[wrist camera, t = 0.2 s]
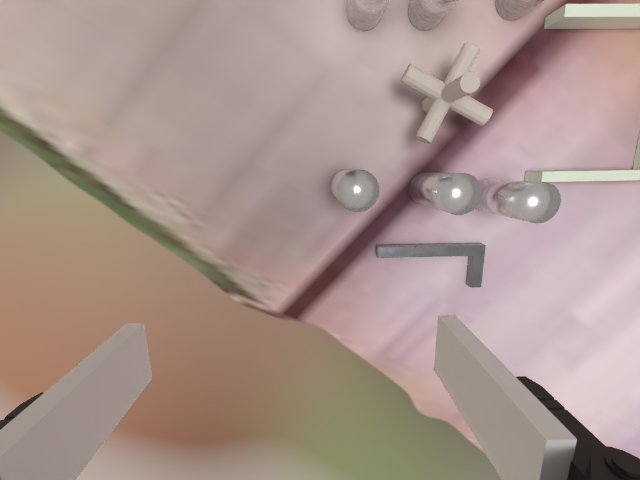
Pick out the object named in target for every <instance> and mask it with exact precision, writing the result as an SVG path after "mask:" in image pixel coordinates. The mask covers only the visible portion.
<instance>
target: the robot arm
mask: <svg viewBox="0 0 640 480" xmlns="http://www.w3.org/2000/svg"><path fill="white" fill-rule="evenodd" d="M434 370H435V372H436V374H437V375H438V377H439V378H440V380H441V382H442V383H443V385H444V387H445V388H446V390H447V391H448V393H449V395H450V396H451V398H452V400H453V401H454V403H455V404H456V406H457V408H458V409H459V411H460V412H461V414H462V416H463V417H464V419H465V421H466V422H467V424H468V425H469V427H470V429H471V430H472V432H473V434H474V435H475V437H476V438H477V440H478V442H479V443H480V445H481V447H482V448H483V450H484V451H485V453H486V455H487V456H488V458H489V460H490V461H491V463H492V464H493V466H494V468H495V469H496V471H497V473H498V474H499V476H500V477H501V479H502V480H640V459H639V458H637V457H635V456H633V455H631V454H629V453H627V452H625V451H623V450H619V449H616V448H613V447H606V446H605V445H604V444H602V443H601V442H600V441H599V440H598V439H597V438H596V437H595V436H594V435H593V434H592V433H591V432H590V431H589V430H588V429H587V428H585V427H584V426H583V425H582V424H581V423H580V422H579V421H578V420H577V419H576V418H575V417H574V416H573V415H572V414H571V413H569V412H568V411H567V410H565V409H564V407H563V406H562V405H561V404H560V403H559V402H558V401H557V400H554V397H552V396H551V395H550V394H549V393H548V392H547V391H546V390H545V389H544V388H543V387H542V386H540V385H539V384H537V383H535V382H534V381H532V380H530V379H529V378H527V377H515V376H514V375H513V374H512V373H511V372H510V371H509V370H508V369H507V368H506V367H505V366H504V365H503V364H502V362H501V361H500V360H499V359H498V358H497V357H496V356H495V355H494V354H493V353H492V352H491V351H490V350H489V349H488V348H487V347H486V346H485V345H484V344H483V343H482V342H481V341H480V340H479V339H478V338H477V337H476V336H475V335H474V334H473V333H472V332H471V331H470V330H469V329H468V328H467V327H466V326H465V325H464V324H463V323H462V322H461V321H460V320H459V319H458V318H457V317H456V316H455V315H447V316H438V325H437V337H436V350H435V363H434ZM151 379H152V373H151V367H150V360H149V353H148V347H147V340H146V333H145V327H144V323H136V324H125V325H124V326H123V327H122V328H121V329H119V330H118V331H117V332H116V333H115V334H114V335H112V336H111V337H110V338H109V339H108V340H106V341H105V342H104V343H103V344H102V345H101V346H99V347H98V348H97V349H96V350H95V351H93V352H92V353H91V354H90V355H89V356H87V357H86V358H85V359H84V360H83V361H81V362H80V363H79V364H78V365H77V366H76V367H74V368H73V369H72V370H71V371H70V372H68V373H67V374H66V375H65V376H64V377H62V378H61V379H60V380H59V381H58V382H57V383H55V384H54V385H53V386H52V387H51V388H50V389H48V390H47V391H46V392H45V393H40V394H38V395H36V396H34V397H33V398H31V399H29V400H27V401H26V402H24V403H22V404H21V405H19V406H18V407H17V408H16V409H15V410H13V411H12V412H11V413H10V414H8V415H7V416H6V417H5V419H4V420H1V421H0V480H76V478H77V477H78V476H79V474H80V473H81V472H82V470H83V469H84V467H85V466H86V465H87V464H88V462H89V461H90V460H91V458H92V457H93V456H94V454H95V453H96V452H97V450H98V449H99V448H100V446H101V445H102V444H103V443H104V441H105V440H106V439H107V437H108V436H109V435H110V433H111V432H112V431H113V429H114V428H115V427H116V425H117V424H118V423H119V421H120V420H121V418H122V417H123V416H124V415H125V413H126V412H127V410H128V409H129V408H130V407H131V405H132V404H133V403H134V401H135V400H136V399H137V397H138V396H139V395H140V393H141V392H142V391H143V390H144V388H145V387H146V386H147V384H148V383H149V381H150V380H151Z"/></svg>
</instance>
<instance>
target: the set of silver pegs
mask: <svg viewBox="0 0 640 480" xmlns="http://www.w3.org/2000/svg"><path fill="white" fill-rule="evenodd" d="M542 1H544V0H496V9H497V12H498V13H499V15H500V16H501V17H502V18H504V19H506V20H510V21H511V20H516V19H519V18H520V17H522V16H523V15H524V14H526V13H527V12H529V11H530V10H531V9H533V8H534V7H535V6H537V5H538V4H540V3H541V2H542ZM388 2H389V0H349V1H348V6H347V17H348V20H349V22H350V23H351V25H352V26H353V27H354V28H356V29H358V30H361V31H368V30H371V29H373V28H374V27H375V26H376V25H377V24H378V23H379V21H380V19H381V17H382V14H383V12H384V10H385V8H386V6H387V4H388ZM457 2H458V0H411V2H410V4H409V8H408V15H409V19H410V22H411V23H412V25H413V26H414V27H415V28H417V29H419V30H422V31H427V30H430V29H432V28H434V27H435V26H436V25H437V24H438V23H439V22H440V21H441V20H442V19H443V18H444V16H445V15H446V14H447V13H448V12H449V11H450V10H451V8H452V7H453V6H454V5H455V4H456V3H457ZM331 191H332V193H333V195H334V196H335V197H336V199H337V200H338V201H339V202H340V203H341V204H342V205H343V206H344V207H345V208H346V209H348V210H350V211H354V212H361V211H365V210H367V209H369V208H370V207H372V206H373V205H374V203H375V202H376V200H377V198H378V194H379V186H378V182H377V180H376V179H375V177H374V176H373V175H372V174H371V173H369V172H367V171H365V170H342V171H339V172H338V173H336V174H335V175H334V177H333V178H332V181H331ZM409 194H410V197H411V198H412V199H413V200H414V201H415V202H417V203H419V204H422V205H426V206H429V207H432V208H435V209H439V210H442V211H445V212H448V213H451V214H455V215H463V214H466V213H469V212H470V211H472V210H473V209H474V208H476V209H478V210H481V211H486V212H490V213H494V214H498V215H502V216H507V217H511V218H515V219H519V220H523V221H528V222H532V223H543V222H546V221H548V220H549V219H551V218H552V217H553V216H554V215H555V214H556V213H557V211H558V209H559V207H560V203H561V197H560V193H559V191H558V189H557V188H556V187H555V186H554V185H552V184H550V183H544V182H525V181H507V180H489V179H485V180H481V181H479V182H478V180H477V179H476V178H475V177H474V176H472V175H470V174H466V173H428V172H424V173H420V174H418V175H416V176H415V177H414V178H413V179H412V180H411V182H410V184H409Z"/></svg>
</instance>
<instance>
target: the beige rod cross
mask: <svg viewBox="0 0 640 480" xmlns="http://www.w3.org/2000/svg"><path fill="white" fill-rule="evenodd" d="M479 51H480V49H479V47H478V46H477V45H476V44H473V43H468V42H467V43H464V44H463V46H462V48H461V50H460V52H459V54H458V56H457V58H456V60H455V61H454V63H453V65H452V67H451V69H450V71H449V73H448V75H447V77H446V79H445V81H444V82H442V81H441V80H439V79H437V78H435V77H434V76H432V75H430V74H428V73H426V72H425V71H423V70H421V69H419V68H417V67H416V66H414V65H412V64H409V66H408V67H407V69H406V71H405V72H404V74H403V76H402V79H401V82H403V83H405V84H406V85H408V86H410V87H412V88H414V89H415V90H417V91H419V92H421V93H423V94H425V95H426V96H428V97H426V98H425V99H424V100H423V101H422V105H421V106H422V109H423V111H424V112H426V113H427V115H426V117H425V119H424V121H423V123H422V125H421V127H420V129H419V131H418V133H417V135H416V138H417V139H418V140H420V141H422V142H424V143H428V144H430V143H431V142H432V140H433V138H434V136H435V134H436V132H437V130H438V128H439V126H440V125H441V123H442V121H443V119H444V117H445V115H446V113H447V111H448V110H449V108H450V109H452V110H454V111H455V112H457V113H459V114H461V115H463V116H465V117H466V118H468V119H470V120H472V121H474V122H475V123H477V124H479V125H484V124H485V123H486V122H487V121H488V120H489V118H490V117H491V115H492V113H493V110H492V109H491V108H489V107H487V106H485V105H483V104H482V103H480V102H478V101H476V100H475V99H473V98H471V97H469V96H467V95H468V94H471V93H473V92H475V91H476V90H477V89H478V87H479V85H480V77H479V75H478V74H477V73H476V72H473V71H469V70H470V68H471V66H472V64H473V62H474V61H475V59H476V57H477V55H478V53H479Z"/></svg>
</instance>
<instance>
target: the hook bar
mask: <svg viewBox="0 0 640 480" xmlns="http://www.w3.org/2000/svg"><path fill="white" fill-rule="evenodd" d="M484 254H485V245H484V244H482V243H441V244H388V245H376V256H377V257H378V258H384V257H433V256H468V266H467V276H466V284H467V285H468V286H469V287H481V282H482V273H483V263H484Z"/></svg>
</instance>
